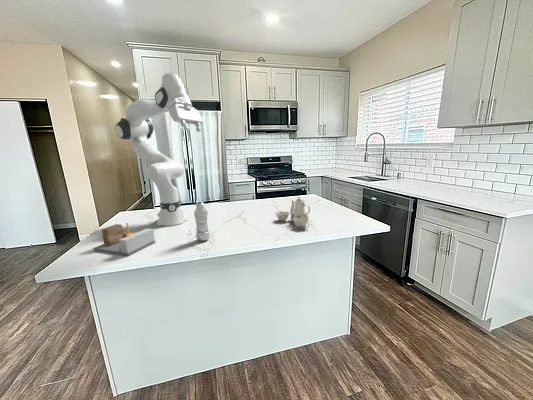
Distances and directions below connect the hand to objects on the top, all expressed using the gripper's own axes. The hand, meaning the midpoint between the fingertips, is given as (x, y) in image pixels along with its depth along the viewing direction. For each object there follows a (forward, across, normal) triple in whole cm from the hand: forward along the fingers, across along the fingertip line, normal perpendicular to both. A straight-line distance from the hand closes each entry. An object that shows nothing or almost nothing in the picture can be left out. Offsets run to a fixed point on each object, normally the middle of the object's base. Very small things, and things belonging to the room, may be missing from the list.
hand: (193, 130), depth 122 cm
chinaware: (+68, -34, +19) cm, 78 cm away
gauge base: (+40, +24, -48) cm, 67 cm away
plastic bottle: (+53, +6, -18) cm, 56 cm away
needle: (+37, +18, -51) cm, 65 cm away
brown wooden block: (+36, +22, -54) cm, 68 cm away
